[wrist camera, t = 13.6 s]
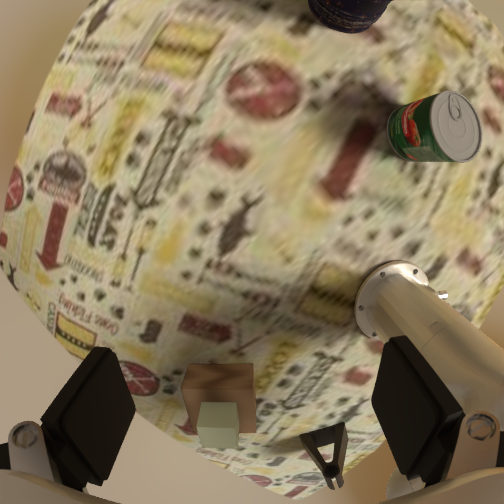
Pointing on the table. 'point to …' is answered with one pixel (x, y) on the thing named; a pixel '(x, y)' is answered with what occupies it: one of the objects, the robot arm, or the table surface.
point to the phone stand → (340, 440)
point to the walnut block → (221, 391)
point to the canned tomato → (436, 129)
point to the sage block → (218, 425)
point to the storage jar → (348, 13)
